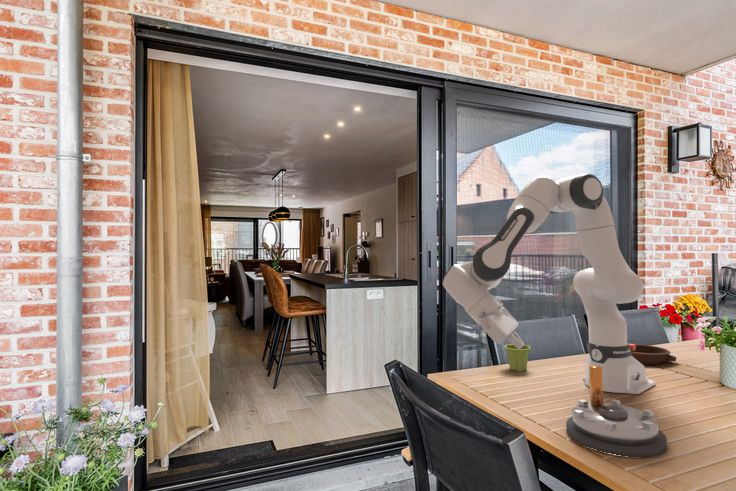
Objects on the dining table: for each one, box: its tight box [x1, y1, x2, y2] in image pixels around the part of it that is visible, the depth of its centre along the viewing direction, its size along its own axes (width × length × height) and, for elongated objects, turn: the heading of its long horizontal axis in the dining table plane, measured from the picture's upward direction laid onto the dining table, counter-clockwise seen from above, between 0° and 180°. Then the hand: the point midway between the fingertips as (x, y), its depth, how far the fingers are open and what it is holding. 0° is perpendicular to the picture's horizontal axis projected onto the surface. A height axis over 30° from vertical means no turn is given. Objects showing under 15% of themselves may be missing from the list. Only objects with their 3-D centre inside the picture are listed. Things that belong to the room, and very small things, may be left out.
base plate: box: [565, 416, 668, 458], centre depth 102 cm, size 21×21×2 cm
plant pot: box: [504, 343, 531, 372], centre depth 161 cm, size 9×9×9 cm
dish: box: [631, 344, 677, 365], centre depth 168 cm, size 18×22×5 cm
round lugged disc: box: [571, 365, 659, 445], centre depth 102 cm, size 18×18×13 cm
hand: (522, 346), depth 119 cm, fingers closed
